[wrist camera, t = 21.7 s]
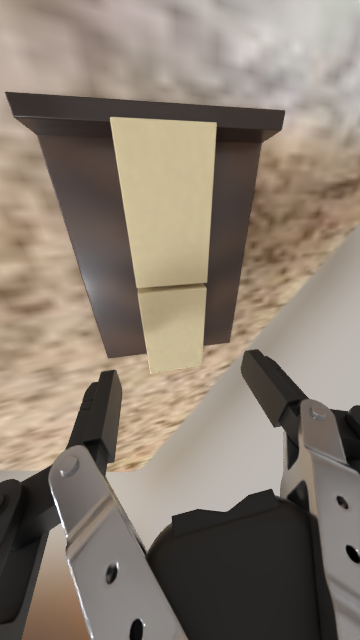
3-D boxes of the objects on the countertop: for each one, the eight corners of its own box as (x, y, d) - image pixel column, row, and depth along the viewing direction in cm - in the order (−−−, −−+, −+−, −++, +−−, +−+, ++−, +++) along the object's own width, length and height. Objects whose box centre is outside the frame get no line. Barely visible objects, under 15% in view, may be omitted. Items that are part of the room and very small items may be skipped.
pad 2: (139, 278, 15) (137, 293, 12) (195, 274, 15) (207, 287, 13) (149, 349, 19) (150, 374, 16) (193, 343, 20) (202, 366, 17)
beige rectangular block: (119, 144, 10) (109, 116, 8) (198, 147, 11) (217, 121, 8) (138, 274, 15) (136, 288, 12) (195, 270, 15) (207, 282, 12)
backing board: (40, 124, 10) (3, 90, 8) (254, 134, 12) (286, 110, 10) (109, 351, 20) (104, 372, 17) (225, 336, 21) (237, 353, 19)
